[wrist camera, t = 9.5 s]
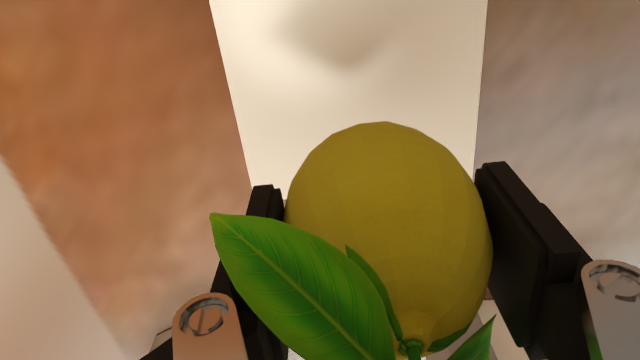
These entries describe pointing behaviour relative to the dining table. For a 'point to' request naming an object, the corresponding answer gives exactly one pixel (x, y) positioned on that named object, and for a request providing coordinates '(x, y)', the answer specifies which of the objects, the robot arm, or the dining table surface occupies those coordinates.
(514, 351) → the cabinet
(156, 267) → the dining table surface
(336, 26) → the plate
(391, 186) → the lemon
